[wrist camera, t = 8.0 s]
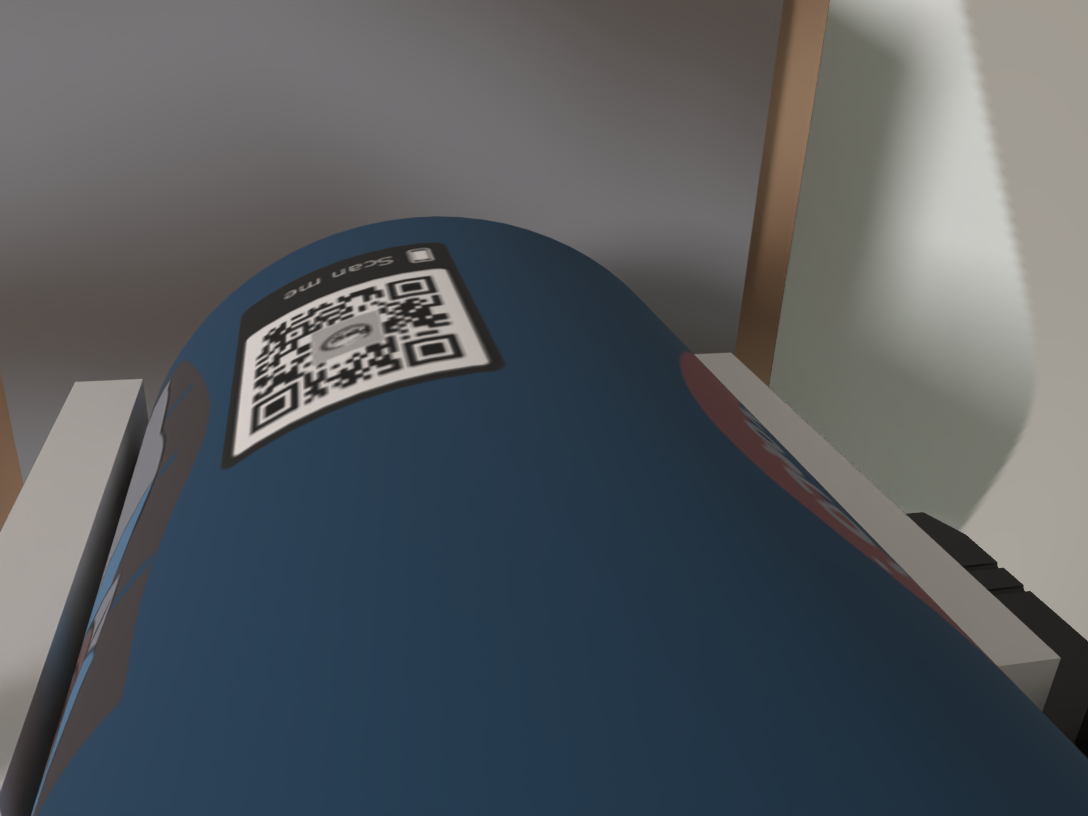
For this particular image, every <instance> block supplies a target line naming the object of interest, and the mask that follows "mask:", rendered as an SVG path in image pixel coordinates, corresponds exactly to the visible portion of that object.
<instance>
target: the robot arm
mask: <svg viewBox="0 0 1088 816" xmlns="http://www.w3.org/2000/svg"><path fill="white" fill-rule="evenodd" d="M694 355H695V356H696V357H697V358H698V359H699V360H700V361H701V362H702V363H703V364H704V365H705V366H706V367H707V368H708V369H709V370H710V371H711V372H712V373H713V374H714V375H715V376H716V377H717V378H718V379H719V380H720V381H721V382H722V384H723V385H724V386H725V387H726V388H727V389H728V390H729V391H730V392H731V393H732V394H733V395H734V396H735V397H736V398H737V399H738V400H739V401H740V402H741V403H742V404H743V405H744V406H745V407H746V408H747V409H748V410H749V411H750V412H751V413H752V414H753V415H754V416H755V417H756V418H757V419H758V420H759V422H760V423H761V424H762V425H763V426H764V427H765V428H766V429H767V430H768V431H769V432H770V433H771V434H772V435H773V436H774V437H775V438H776V439H777V440H778V441H779V442H780V443H781V444H782V445H783V446H784V447H785V448H786V449H787V450H788V451H789V452H790V453H791V454H792V455H793V456H794V457H795V459H796V460H797V461H798V462H799V463H800V464H801V465H802V466H803V467H804V468H805V469H806V470H807V471H808V472H809V473H810V474H811V475H812V476H813V477H814V478H815V479H816V480H817V481H818V482H819V483H820V484H821V485H822V486H823V487H824V488H825V489H826V490H827V491H828V492H829V493H830V494H831V495H832V497H833V498H834V499H835V500H836V501H837V502H838V503H839V504H840V505H841V506H842V507H843V508H844V509H845V510H846V511H847V512H848V513H849V514H850V515H851V516H852V517H853V518H854V519H855V520H856V521H857V522H858V523H859V524H860V525H861V526H862V527H863V528H864V529H865V530H866V531H867V532H868V534H869V535H870V536H871V537H872V538H873V539H874V540H875V541H876V542H877V543H878V544H879V545H880V546H881V547H882V548H883V549H884V550H885V551H886V552H887V553H888V554H889V555H890V556H891V557H892V558H893V559H894V560H895V561H896V562H897V563H898V564H899V565H900V566H901V567H902V568H903V569H904V571H905V572H906V573H907V574H908V575H909V576H910V577H911V578H912V579H913V580H914V581H915V582H916V583H917V584H918V585H919V586H920V587H921V588H922V589H923V590H924V591H925V592H926V593H927V594H928V595H929V596H930V597H931V598H932V599H933V600H934V601H935V602H936V603H937V604H938V605H939V606H940V607H941V609H942V610H943V611H944V612H945V613H946V614H947V615H948V616H949V617H950V618H951V619H952V620H953V621H954V622H955V623H956V624H957V625H958V626H959V627H960V628H961V629H962V630H963V631H964V632H965V633H966V634H967V635H968V636H969V637H970V638H971V639H972V640H973V641H974V642H975V643H976V644H977V646H978V647H979V648H980V649H981V650H982V651H983V652H984V653H985V654H986V655H987V656H988V657H989V658H990V659H991V660H992V661H993V662H994V663H995V664H996V665H997V666H998V667H999V668H1000V669H1001V670H1002V671H1003V672H1004V673H1005V674H1006V675H1007V676H1008V677H1009V678H1010V679H1011V680H1012V681H1013V682H1014V684H1015V685H1016V686H1017V687H1018V688H1019V689H1020V690H1021V691H1022V692H1023V693H1024V694H1025V695H1026V696H1027V697H1028V698H1029V699H1030V700H1031V701H1032V702H1033V703H1034V704H1035V705H1036V706H1037V707H1038V708H1039V709H1040V710H1041V711H1042V712H1043V713H1044V714H1045V715H1046V716H1047V717H1048V718H1049V719H1050V721H1051V722H1052V723H1053V724H1054V725H1055V726H1056V727H1057V728H1058V729H1059V730H1060V731H1061V732H1062V733H1063V734H1064V735H1065V736H1066V737H1067V738H1068V739H1069V740H1070V741H1071V742H1072V743H1073V744H1074V745H1075V746H1076V747H1077V748H1078V749H1079V750H1080V751H1081V752H1082V753H1083V754H1084V755H1085V756H1086V757H1087V759H1088V641H1087V640H1086V639H1085V638H1083V637H1082V636H1081V635H1080V634H1079V633H1078V632H1076V631H1075V630H1074V629H1073V628H1072V627H1071V626H1070V625H1069V624H1067V623H1066V622H1065V621H1064V620H1063V619H1061V617H1059V616H1058V615H1057V614H1056V613H1055V612H1054V611H1053V610H1051V609H1050V608H1049V607H1048V606H1047V605H1046V604H1045V603H1043V602H1042V601H1041V600H1040V599H1038V597H1036V596H1035V595H1034V594H1033V593H1032V592H1031V591H1027V592H1025V591H1024V588H1023V584H1022V583H1020V582H1019V581H1018V580H1017V579H1016V578H1015V577H1014V576H1012V575H1011V574H1010V573H1009V572H1008V571H1006V570H1005V569H1004V568H998V566H997V562H996V561H995V560H994V559H993V558H992V557H991V556H989V555H988V554H987V553H986V552H985V551H983V549H982V548H980V547H979V546H978V545H977V544H976V543H975V542H974V541H972V540H971V539H970V538H969V537H968V536H967V535H965V534H963V533H962V532H960V531H958V530H956V529H954V528H952V527H950V526H948V525H946V524H944V523H942V522H940V521H939V520H937V519H935V518H933V517H931V516H929V515H927V514H925V513H923V512H921V513H910V514H905V513H904V512H903V511H902V510H901V509H899V508H898V507H897V506H896V505H895V504H894V503H893V502H892V501H891V500H890V499H889V498H888V497H887V496H885V495H884V494H883V493H882V492H881V491H880V490H879V489H878V488H877V487H876V486H875V485H874V484H872V483H871V482H870V481H869V480H868V479H867V478H866V477H865V476H864V475H863V474H862V473H861V472H860V471H858V470H857V469H856V468H855V467H854V466H853V465H852V464H851V463H850V462H849V461H848V460H847V459H845V458H844V457H843V456H842V455H841V454H840V453H839V452H838V451H837V450H836V449H835V448H834V447H833V446H831V445H830V444H829V443H828V442H827V441H826V440H825V439H824V438H823V437H822V436H821V435H820V434H818V433H817V432H816V431H815V430H814V429H813V428H812V427H811V426H810V425H809V424H808V423H807V422H806V421H804V420H803V419H802V418H801V417H800V416H799V415H798V414H797V413H796V412H795V411H794V410H793V409H791V408H790V407H789V406H788V405H787V404H786V403H785V402H784V401H783V400H782V399H781V398H780V397H779V396H777V395H776V394H775V393H774V392H773V391H772V390H771V389H770V388H769V387H768V386H767V385H766V384H764V383H763V382H762V381H761V380H760V379H759V378H758V377H757V376H756V375H755V374H754V373H753V372H752V371H750V370H749V369H748V368H747V367H746V366H745V365H744V364H743V363H742V362H741V361H740V360H739V359H737V358H736V357H735V356H734V355H733V354H732V353H711V354H694ZM148 422H149V419H148V412H147V405H146V398H145V390H144V383H143V379H129V380H107V381H85V382H75V383H74V385H73V387H72V389H71V391H70V393H69V395H68V397H67V399H66V401H65V403H64V405H63V407H62V409H61V411H60V413H59V415H58V417H57V419H56V421H55V423H54V425H53V427H52V430H51V432H50V434H49V436H48V438H47V440H46V442H45V444H44V446H43V448H42V450H41V452H40V454H39V456H38V458H37V460H36V462H35V464H34V466H33V468H32V470H31V472H30V474H29V476H28V478H27V480H26V482H25V484H24V486H23V488H22V490H21V492H20V494H19V496H18V498H17V500H16V502H15V504H14V506H13V508H12V510H11V512H10V514H9V516H8V518H7V520H6V522H5V524H4V526H3V528H2V530H1V532H0V816H31V814H32V811H33V807H34V804H35V801H36V797H37V794H38V791H39V787H40V784H41V781H42V777H43V774H44V771H45V767H46V764H47V761H48V757H49V754H50V751H51V747H52V744H53V741H54V737H55V734H56V730H57V727H58V724H59V720H60V717H61V714H62V710H63V707H64V704H65V700H66V697H67V694H68V690H69V687H70V684H71V680H72V677H73V674H74V670H75V667H76V664H77V660H78V657H79V653H80V650H81V647H82V643H83V640H84V637H85V633H86V630H87V627H88V623H89V620H90V617H91V613H92V610H93V607H94V603H95V600H96V597H97V593H98V590H99V587H100V583H101V580H102V576H103V573H104V570H105V566H106V563H107V560H108V556H109V553H110V550H111V546H112V543H113V540H114V536H115V533H116V530H117V526H118V523H119V520H120V516H121V513H122V510H123V506H124V503H125V499H126V496H127V493H128V489H129V486H130V483H131V479H132V476H133V473H134V469H135V466H136V463H137V459H138V456H139V453H140V449H141V446H142V443H143V439H144V436H145V433H146V429H147V426H148Z"/></svg>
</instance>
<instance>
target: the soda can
mask: <svg viewBox="0 0 1088 816" xmlns="http://www.w3.org/2000/svg"><path fill="white" fill-rule="evenodd" d="M31 816H1088V759H1087V757H1086V756H1085V755H1084V754H1083V753H1082V752H1081V751H1080V750H1079V749H1078V748H1077V747H1076V746H1075V745H1074V744H1073V743H1072V742H1071V741H1070V740H1069V739H1068V738H1067V737H1066V736H1065V735H1064V734H1063V733H1062V732H1061V731H1060V730H1059V729H1058V728H1057V727H1056V726H1055V725H1054V724H1053V723H1052V722H1051V721H1050V719H1049V718H1048V717H1047V716H1046V715H1045V714H1044V713H1043V712H1042V711H1041V710H1040V709H1039V708H1038V707H1037V706H1036V705H1035V704H1034V703H1033V702H1032V701H1031V700H1030V699H1029V698H1028V697H1027V696H1026V695H1025V694H1024V693H1023V692H1022V691H1021V690H1020V689H1019V688H1018V687H1017V686H1016V685H1015V684H1014V682H1013V681H1012V680H1011V679H1010V678H1009V677H1008V676H1007V675H1006V674H1005V673H1004V672H1003V671H1002V670H1001V669H1000V668H999V667H998V666H997V665H996V664H995V663H994V662H993V661H992V660H991V659H990V658H989V657H988V656H987V655H986V654H985V653H984V652H983V651H982V650H981V649H980V648H979V647H978V646H977V644H976V643H975V642H974V641H973V640H972V639H971V638H970V637H969V636H968V635H967V634H966V633H965V632H964V631H963V630H962V629H961V628H960V627H959V626H958V625H957V624H956V623H955V622H954V621H953V620H952V619H951V618H950V617H949V616H948V615H947V614H946V613H945V612H944V611H943V610H942V609H941V607H940V606H939V605H938V604H937V603H936V602H935V601H934V600H933V599H932V598H931V597H930V596H929V595H928V594H927V593H926V592H925V591H924V590H923V589H922V588H921V587H920V586H919V585H918V584H917V583H916V582H915V581H914V580H913V579H912V578H911V577H910V576H909V575H908V574H907V573H906V572H905V571H904V569H903V568H902V567H901V566H900V565H899V564H898V563H897V562H896V561H895V560H894V559H893V558H892V557H891V556H890V555H889V554H888V553H887V552H886V551H885V550H884V549H883V548H882V547H881V546H880V545H879V544H878V543H877V542H876V541H875V540H874V539H873V538H872V537H871V536H870V535H869V534H868V532H867V531H866V530H865V529H864V528H863V527H862V526H861V525H860V524H859V523H858V522H857V521H856V520H855V519H854V518H853V517H852V516H851V515H850V514H849V513H848V512H847V511H846V510H845V509H844V508H843V507H842V506H841V505H840V504H839V503H838V502H837V501H836V500H835V499H834V498H833V497H832V495H831V494H830V493H829V492H828V491H827V490H826V489H825V488H824V487H823V486H822V485H821V484H820V483H819V482H818V481H817V480H816V479H815V478H814V477H813V476H812V475H811V474H810V473H809V472H808V471H807V470H806V469H805V468H804V467H803V466H802V465H801V464H800V463H799V462H798V461H797V460H796V459H795V457H794V456H793V455H792V454H791V453H790V452H789V451H788V450H787V449H786V448H785V447H784V446H783V445H782V444H781V443H780V442H779V441H778V440H777V439H776V438H775V437H774V436H773V435H772V434H771V433H770V432H769V431H768V430H767V429H766V428H765V427H764V426H763V425H762V424H761V423H760V422H759V420H758V419H757V418H756V417H755V416H754V415H753V414H752V413H751V412H750V411H749V410H748V409H747V408H746V407H745V406H744V405H743V404H742V403H741V402H740V401H739V400H738V399H737V398H736V397H735V396H734V395H733V394H732V393H731V392H730V391H729V390H728V389H727V388H726V387H725V386H724V385H723V384H722V382H721V381H720V380H719V379H718V378H717V377H716V376H715V375H714V374H713V373H712V372H711V371H710V370H709V369H708V368H707V367H706V366H705V365H704V364H703V363H702V362H701V361H700V360H699V359H698V358H697V357H696V356H695V355H694V354H693V353H692V352H691V351H690V350H689V349H688V348H687V347H686V345H685V344H684V343H683V342H682V341H681V340H680V339H679V338H678V337H677V336H676V335H675V334H674V333H673V332H672V331H671V330H670V329H669V328H668V327H667V326H666V325H665V324H664V323H663V322H662V321H661V320H660V319H659V318H658V317H657V316H656V315H655V314H654V313H653V312H652V311H651V310H650V308H649V307H648V306H647V305H646V304H645V303H644V302H643V301H642V300H641V299H640V298H639V297H638V296H637V295H636V294H635V293H634V292H633V291H632V290H631V289H630V288H629V287H627V286H626V285H625V284H624V283H623V282H622V281H621V280H620V279H618V278H617V277H616V276H615V275H614V274H612V273H611V272H610V271H609V270H607V269H606V268H604V267H603V266H601V265H600V264H599V263H597V262H596V261H594V260H593V259H591V258H590V257H588V256H586V255H584V254H582V253H581V252H579V251H577V250H575V249H574V248H572V247H570V246H568V245H565V244H563V243H561V242H559V241H557V240H554V239H552V238H550V237H547V236H545V235H542V234H539V233H536V232H533V231H530V230H528V229H524V228H520V227H516V226H513V225H509V224H505V223H500V222H494V221H489V220H483V219H474V218H464V217H442V216H431V217H413V218H404V219H396V220H389V221H383V222H378V223H373V224H369V225H364V226H360V227H356V228H353V229H349V230H346V231H343V232H339V233H336V234H334V235H331V236H328V237H326V238H323V239H320V240H318V241H315V242H313V243H311V244H309V245H306V246H304V247H302V248H300V249H298V250H296V251H294V252H292V253H290V254H288V255H286V256H285V257H283V258H281V259H279V260H278V261H276V262H274V263H272V264H271V265H269V266H268V267H266V268H265V269H263V270H262V271H260V272H259V273H257V274H256V275H254V276H253V277H251V278H250V279H249V280H247V281H246V282H245V283H244V284H243V285H241V286H240V287H239V288H238V289H236V290H235V291H234V292H233V293H231V294H230V295H229V296H228V297H227V298H226V299H225V300H224V301H223V302H222V303H221V304H220V305H219V306H218V307H217V308H216V309H215V310H214V311H213V312H212V313H211V314H210V315H209V316H208V317H207V318H206V320H205V321H204V322H203V323H202V324H201V325H200V326H199V328H198V329H197V330H196V331H195V332H194V334H193V335H192V337H191V338H190V339H189V341H188V342H187V343H186V345H185V346H184V347H183V349H182V350H181V352H180V354H179V355H178V357H177V358H176V360H175V362H174V363H173V365H172V367H171V368H170V370H169V372H168V374H167V376H166V378H165V380H164V382H163V384H162V386H161V388H160V391H159V394H158V396H157V399H156V401H155V404H154V407H153V409H152V412H151V416H150V419H149V422H148V426H147V429H146V433H145V436H144V439H143V443H142V446H141V449H140V453H139V456H138V459H137V463H136V466H135V469H134V473H133V476H132V479H131V483H130V486H129V489H128V493H127V496H126V499H125V503H124V506H123V510H122V513H121V516H120V520H119V523H118V526H117V530H116V533H115V536H114V540H113V543H112V546H111V550H110V553H109V556H108V560H107V563H106V566H105V570H104V573H103V576H102V580H101V583H100V587H99V590H98V593H97V597H96V600H95V603H94V607H93V610H92V613H91V617H90V620H89V623H88V627H87V630H86V633H85V637H84V640H83V643H82V647H81V650H80V653H79V657H78V660H77V664H76V667H75V670H74V674H73V677H72V680H71V684H70V687H69V690H68V694H67V697H66V700H65V704H64V707H63V710H62V714H61V717H60V720H59V724H58V727H57V730H56V734H55V737H54V741H53V744H52V747H51V751H50V754H49V757H48V761H47V764H46V767H45V771H44V774H43V777H42V781H41V784H40V787H39V791H38V794H37V797H36V801H35V804H34V807H33V811H32V814H31Z"/></svg>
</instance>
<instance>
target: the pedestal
mask: <svg viewBox="0 0 1088 816" xmlns="http://www.w3.org/2000/svg"><path fill="white" fill-rule="evenodd" d="M829 2H830V0H0V532H1V530H2V528H3V526H4V524H5V522H6V520H7V518H8V516H9V514H10V512H11V510H12V508H13V506H14V504H15V502H16V500H17V498H18V496H19V494H20V492H21V490H22V488H23V486H24V484H25V482H26V480H27V478H28V476H29V474H30V472H31V470H32V468H33V466H34V464H35V462H36V460H37V458H38V456H39V454H40V452H41V450H42V448H43V446H44V444H45V442H46V440H47V438H48V436H49V434H50V432H51V430H52V427H53V425H54V423H55V421H56V419H57V417H58V415H59V413H60V411H61V409H62V407H63V405H64V403H65V401H66V399H67V397H68V395H69V393H70V391H71V389H72V387H73V385H74V383H75V382H85V381H107V380H129V379H143V383H144V390H145V398H146V405H147V412H148V419H150V416H151V412H152V409H153V407H154V404H155V401H156V399H157V396H158V394H159V391H160V388H161V386H162V384H163V382H164V380H165V378H166V376H167V374H168V372H169V370H170V368H171V367H172V365H173V363H174V362H175V360H176V358H177V357H178V355H179V354H180V352H181V350H182V349H183V347H184V346H185V345H186V343H187V342H188V341H189V339H190V338H191V337H192V335H193V334H194V332H195V331H196V330H197V329H198V328H199V326H200V325H201V324H202V323H203V322H204V321H205V320H206V318H207V317H208V316H209V315H210V314H211V313H212V312H213V311H214V310H215V309H216V308H217V307H218V306H219V305H220V304H221V303H222V302H223V301H224V300H225V299H226V298H227V297H228V296H229V295H230V294H231V293H233V292H234V291H235V290H236V289H238V288H239V287H240V286H241V285H243V284H244V283H245V282H246V281H247V280H249V279H250V278H251V277H253V276H254V275H256V274H257V273H259V272H260V271H262V270H263V269H265V268H266V267H268V266H269V265H271V264H272V263H274V262H276V261H278V260H279V259H281V258H283V257H285V256H286V255H288V254H290V253H292V252H294V251H296V250H298V249H300V248H302V247H304V246H306V245H309V244H311V243H313V242H315V241H318V240H320V239H323V238H326V237H328V236H331V235H334V234H336V233H339V232H343V231H346V230H349V229H353V228H356V227H360V226H364V225H369V224H373V223H378V222H383V221H389V220H396V219H404V218H413V217H431V216H442V217H464V218H474V219H483V220H489V221H494V222H500V223H505V224H509V225H513V226H516V227H520V228H524V229H528V230H530V231H533V232H536V233H539V234H542V235H545V236H547V237H550V238H552V239H554V240H557V241H559V242H561V243H563V244H565V245H568V246H570V247H572V248H574V249H575V250H577V251H579V252H581V253H582V254H584V255H586V256H588V257H590V258H591V259H593V260H594V261H596V262H597V263H599V264H600V265H601V266H603V267H604V268H606V269H607V270H609V271H610V272H611V273H612V274H614V275H615V276H616V277H617V278H618V279H620V280H621V281H622V282H623V283H624V284H625V285H626V286H627V287H629V288H630V289H631V290H632V291H633V292H634V293H635V294H636V295H637V296H638V297H639V298H640V299H641V300H642V301H643V302H644V303H645V304H646V305H647V306H648V307H649V308H650V310H651V311H652V312H653V313H654V314H655V315H656V316H657V317H658V318H659V319H660V320H661V321H662V322H663V323H664V324H665V325H666V326H667V327H668V328H669V329H670V330H671V331H672V332H673V333H674V334H675V335H676V336H677V337H678V338H679V339H680V340H681V341H682V342H683V343H684V344H685V345H686V347H687V348H688V349H689V350H690V351H691V352H692V353H693V354H711V353H732V354H733V355H734V356H735V357H736V358H737V359H739V360H740V361H741V362H742V363H743V364H744V365H745V366H746V367H747V368H748V369H749V370H750V371H752V372H753V373H754V374H755V375H756V376H757V377H758V378H759V379H760V380H761V381H762V382H763V383H764V384H766V385H767V386H768V387H769V382H770V376H771V370H772V363H773V357H774V351H775V344H776V338H777V331H778V325H779V319H780V312H781V306H782V300H783V293H784V287H785V281H786V274H787V268H788V262H789V255H790V249H791V243H792V236H793V230H794V224H795V217H796V211H797V205H798V198H799V192H800V186H801V179H802V173H803V167H804V160H805V154H806V148H807V141H808V135H809V129H810V122H811V116H812V109H813V103H814V97H815V90H816V84H817V78H818V71H819V65H820V59H821V52H822V46H823V40H824V33H825V27H826V21H827V14H828V8H829Z"/></svg>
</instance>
